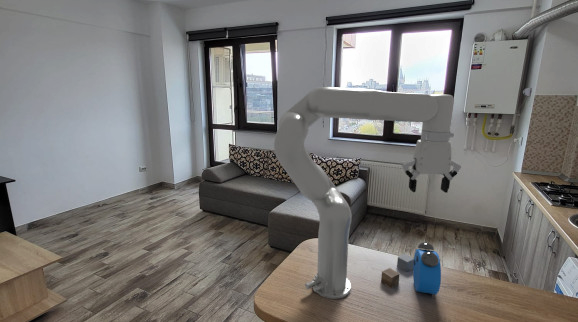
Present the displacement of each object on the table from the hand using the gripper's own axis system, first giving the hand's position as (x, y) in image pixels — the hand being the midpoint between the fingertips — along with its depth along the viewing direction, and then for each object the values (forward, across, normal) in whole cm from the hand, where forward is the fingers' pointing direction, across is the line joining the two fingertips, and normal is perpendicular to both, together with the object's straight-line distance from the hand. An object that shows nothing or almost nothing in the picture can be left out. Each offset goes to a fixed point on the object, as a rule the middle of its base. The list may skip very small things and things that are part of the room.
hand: (428, 191), depth 91 cm
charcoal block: (+33, +1, -9) cm, 34 cm away
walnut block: (+33, +9, 0) cm, 34 cm away
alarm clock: (+33, -1, +3) cm, 33 cm away
